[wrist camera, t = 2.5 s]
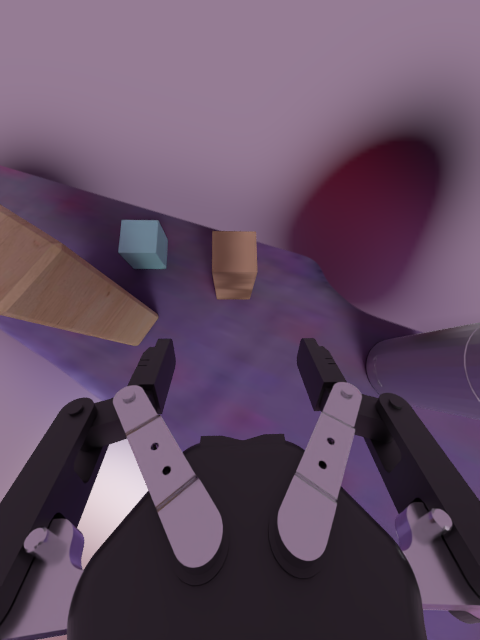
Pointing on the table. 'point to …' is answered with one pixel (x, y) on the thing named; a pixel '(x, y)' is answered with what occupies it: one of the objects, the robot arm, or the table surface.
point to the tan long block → (234, 263)
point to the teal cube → (143, 244)
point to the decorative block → (63, 287)
